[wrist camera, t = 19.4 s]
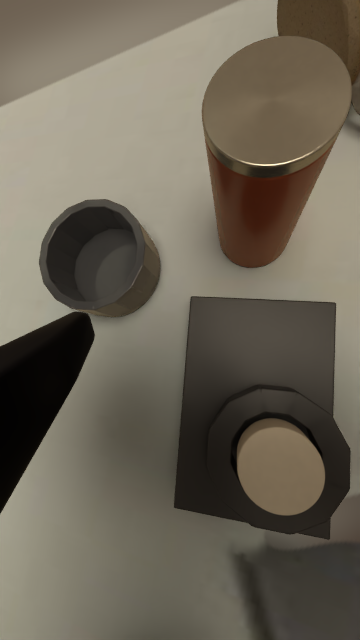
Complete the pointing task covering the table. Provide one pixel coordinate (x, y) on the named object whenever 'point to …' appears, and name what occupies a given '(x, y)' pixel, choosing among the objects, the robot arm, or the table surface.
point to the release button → (279, 467)
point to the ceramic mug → (327, 30)
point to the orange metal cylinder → (270, 139)
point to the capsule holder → (99, 259)
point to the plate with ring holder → (257, 403)
